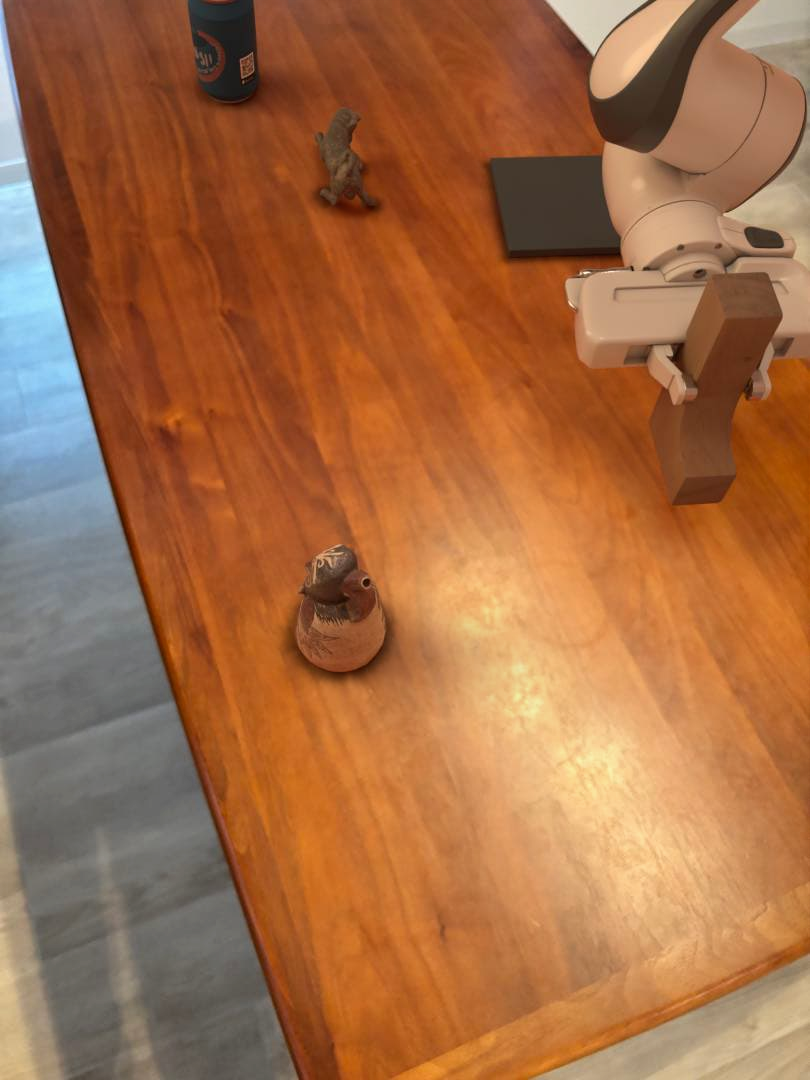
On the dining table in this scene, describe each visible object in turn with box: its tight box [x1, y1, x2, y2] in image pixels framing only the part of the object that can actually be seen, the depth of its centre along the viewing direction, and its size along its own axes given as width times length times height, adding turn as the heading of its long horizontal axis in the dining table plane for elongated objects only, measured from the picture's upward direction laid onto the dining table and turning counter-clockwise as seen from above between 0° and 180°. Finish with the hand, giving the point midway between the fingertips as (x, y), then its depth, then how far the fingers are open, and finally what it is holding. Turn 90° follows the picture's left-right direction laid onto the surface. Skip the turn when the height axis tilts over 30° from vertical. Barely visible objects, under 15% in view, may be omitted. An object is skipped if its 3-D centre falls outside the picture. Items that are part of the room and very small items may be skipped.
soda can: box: [186, 0, 261, 104], centre depth 109 cm, size 7×7×12 cm
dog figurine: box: [314, 106, 378, 207], centre depth 105 cm, size 12×6×7 cm, turn 9°
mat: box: [489, 154, 621, 258], centre depth 107 cm, size 14×14×1 cm
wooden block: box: [648, 272, 783, 507], centre depth 79 cm, size 9×4×18 cm, turn 6°
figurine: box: [294, 543, 387, 673], centre depth 76 cm, size 7×7×12 cm
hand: (723, 398), depth 77 cm, fingers closed on wooden block, 4 cm apart
